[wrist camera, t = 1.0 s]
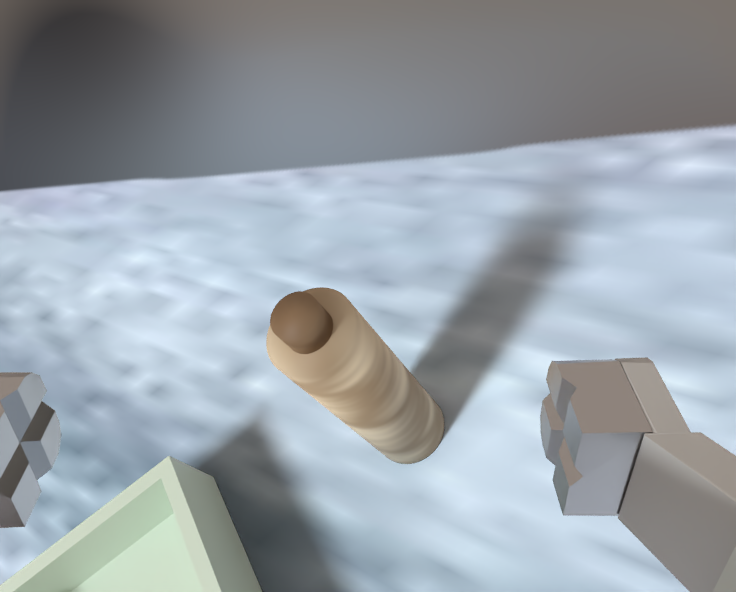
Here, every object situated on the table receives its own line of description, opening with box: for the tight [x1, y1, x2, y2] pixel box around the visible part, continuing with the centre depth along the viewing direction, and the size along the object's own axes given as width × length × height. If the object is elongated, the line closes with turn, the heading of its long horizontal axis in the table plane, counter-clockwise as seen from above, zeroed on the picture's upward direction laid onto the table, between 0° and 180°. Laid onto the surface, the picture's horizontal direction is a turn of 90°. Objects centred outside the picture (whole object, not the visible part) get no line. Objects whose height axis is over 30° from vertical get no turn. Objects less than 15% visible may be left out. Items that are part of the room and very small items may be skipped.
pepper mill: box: [267, 288, 444, 464], centre depth 37 cm, size 5×5×16 cm
